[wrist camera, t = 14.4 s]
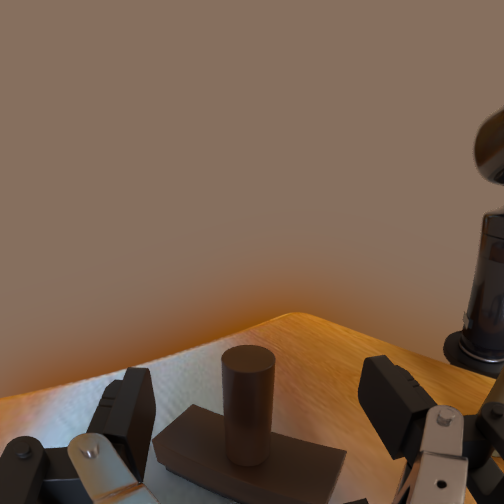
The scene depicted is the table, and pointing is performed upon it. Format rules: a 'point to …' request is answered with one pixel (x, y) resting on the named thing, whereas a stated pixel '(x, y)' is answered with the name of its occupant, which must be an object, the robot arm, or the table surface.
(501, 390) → the cork
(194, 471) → the stamp
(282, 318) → the table surface
